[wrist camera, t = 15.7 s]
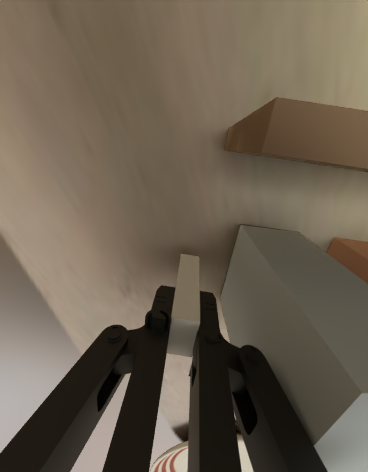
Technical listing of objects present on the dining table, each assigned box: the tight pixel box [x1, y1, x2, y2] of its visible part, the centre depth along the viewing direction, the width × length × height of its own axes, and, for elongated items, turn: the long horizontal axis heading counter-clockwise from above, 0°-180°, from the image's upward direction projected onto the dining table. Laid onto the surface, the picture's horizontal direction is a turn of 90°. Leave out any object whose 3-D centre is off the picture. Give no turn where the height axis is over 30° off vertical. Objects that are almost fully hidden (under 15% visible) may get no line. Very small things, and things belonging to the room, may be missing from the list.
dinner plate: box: [150, 434, 254, 472], centre depth 33 cm, size 27×27×3 cm
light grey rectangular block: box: [220, 225, 368, 472], centre depth 12 cm, size 8×5×12 cm, turn 172°
